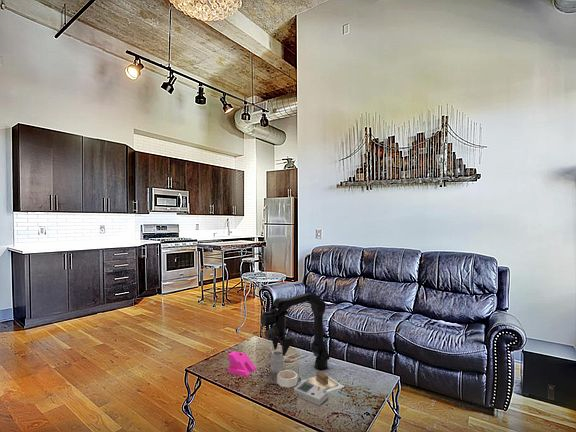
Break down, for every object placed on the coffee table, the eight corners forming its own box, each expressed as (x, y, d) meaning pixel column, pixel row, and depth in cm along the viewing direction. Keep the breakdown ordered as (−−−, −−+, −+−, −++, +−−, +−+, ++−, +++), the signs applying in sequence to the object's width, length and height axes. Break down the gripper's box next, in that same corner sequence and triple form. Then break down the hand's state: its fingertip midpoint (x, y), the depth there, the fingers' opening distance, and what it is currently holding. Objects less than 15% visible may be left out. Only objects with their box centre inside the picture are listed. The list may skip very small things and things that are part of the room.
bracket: (227, 373, 179) (228, 354, 179) (237, 365, 189) (238, 347, 189) (246, 377, 175) (247, 358, 175) (256, 369, 184) (256, 351, 184)
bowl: (290, 376, 176) (290, 368, 176) (300, 385, 167) (300, 376, 167) (274, 381, 170) (274, 372, 171) (283, 390, 162) (284, 381, 162)
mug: (277, 375, 178) (277, 353, 178) (262, 368, 186) (263, 347, 186) (287, 370, 183) (287, 349, 183) (272, 363, 191) (272, 343, 191)
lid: (324, 376, 176) (324, 367, 176) (338, 385, 166) (338, 376, 166) (305, 381, 170) (306, 372, 170) (319, 391, 160) (319, 382, 160)
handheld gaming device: (319, 407, 148) (319, 399, 148) (293, 395, 157) (293, 388, 157) (329, 397, 155) (329, 390, 155) (304, 387, 164) (304, 379, 164)
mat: (324, 374, 179) (324, 373, 179) (344, 387, 165) (344, 386, 165) (300, 381, 171) (300, 380, 171) (318, 396, 157) (318, 394, 157)
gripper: (258, 320, 176) (258, 349, 176) (275, 330, 160) (274, 362, 160) (276, 317, 182) (276, 345, 182) (294, 327, 166) (293, 358, 166)
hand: (279, 352), depth 172 cm, fingers open, 9 cm apart
